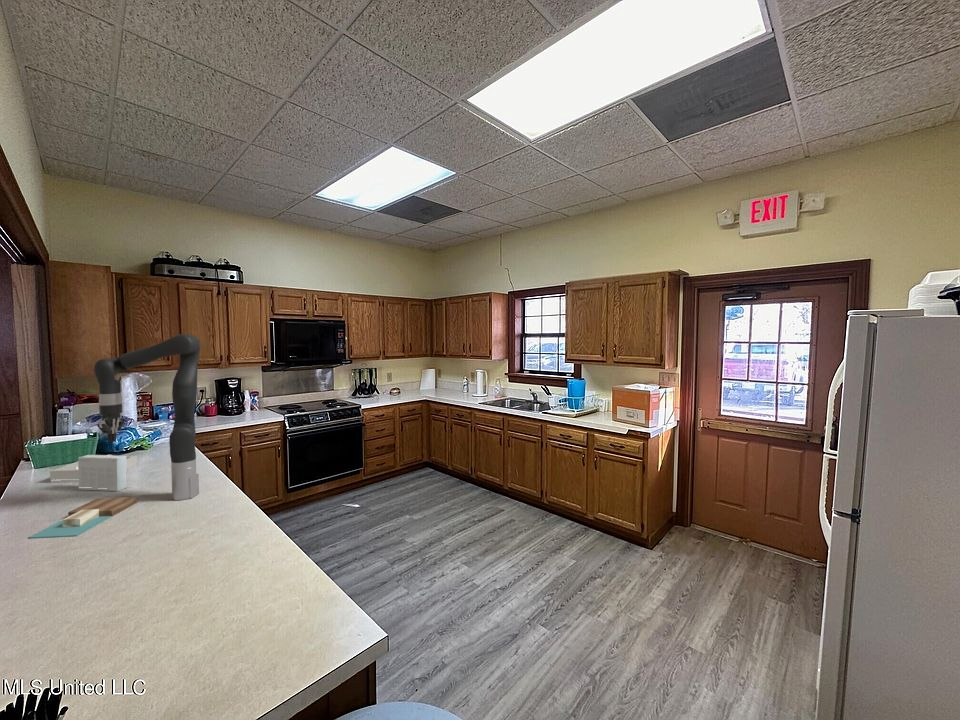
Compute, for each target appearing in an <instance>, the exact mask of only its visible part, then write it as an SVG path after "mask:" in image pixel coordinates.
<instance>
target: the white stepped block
mask: <svg viewBox="0 0 960 720" xmlns="http://www.w3.org/2000/svg"><path fill="white" fill-rule="evenodd" d="M125 456H126V465H127V468H128V469H127V472H128V471H129V470H132V469H134V468H136V467H138V455H125ZM136 464H137V465H136ZM134 465H135V466H134ZM132 466H133V467H132ZM74 467H78V460H77V461H75V462H73V463H69V464H67V465H63V466H60V467H58V468H55V469H52V470H50V471H49V475H50V476H49V479H50V480H53V479H55V480H56V479H79V477H78V469H74ZM129 467H130V468H129ZM50 483H51V484H52V483H54V484H55V483H56V484H57V483H79V480H61V481H50Z"/></svg>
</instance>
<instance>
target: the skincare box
mask: <svg viewBox="0 0 960 720" xmlns="http://www.w3.org/2000/svg"><path fill="white" fill-rule="evenodd" d="M110 455H111V454H107V455H105V454H103V455H101V454H87V455H83V456H78V457H77V461H78V477H79V482H78V490H81V491H102V492H103V491H104V492H105V491H107V492H119V491H122V490H124V489H127V487H128V484H127V483H128V480H127V478H128V476H127V472H128V471H127V465H126V456H127V455H113V456H110ZM79 487H92V488H79ZM98 488H107V489H98Z"/></svg>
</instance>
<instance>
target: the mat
mask: <svg viewBox="0 0 960 720" xmlns="http://www.w3.org/2000/svg"><path fill="white" fill-rule="evenodd" d="M110 518H112V516H101V517H97V518H95V519H93V520H91V521H89V522H88V523H86V524H84V525H82V526H79V527H63V521H62V520H61V521H58V522H57V523H54V524H52V525H50V526H48V527H46V528H44V529H42V530H40V531H38V532H35V533H34V534H32V535H30V536H28V537H27V539H40V538H41V539H44V538H45V539H47V538H64V537H78V536H80V535H81V534H82V535H83V533H85V532H87V531H88V530H90V529H92V528H94V527H96V526H98V525H99V524H102V523H103V522H104V521H107V520H108V519H110Z"/></svg>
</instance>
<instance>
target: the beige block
mask: <svg viewBox="0 0 960 720" xmlns="http://www.w3.org/2000/svg"><path fill="white" fill-rule="evenodd" d="M97 517H99V509H88V510H81V511H79V512H77V513H75V514H73V515H71V516H69V517H68V516H67V517H66V518H63V519H62V520H61V521H63V527H79V526H82V525H84V524H86V523H88V522H89V521H91V520H93V519H95V518H97Z"/></svg>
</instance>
